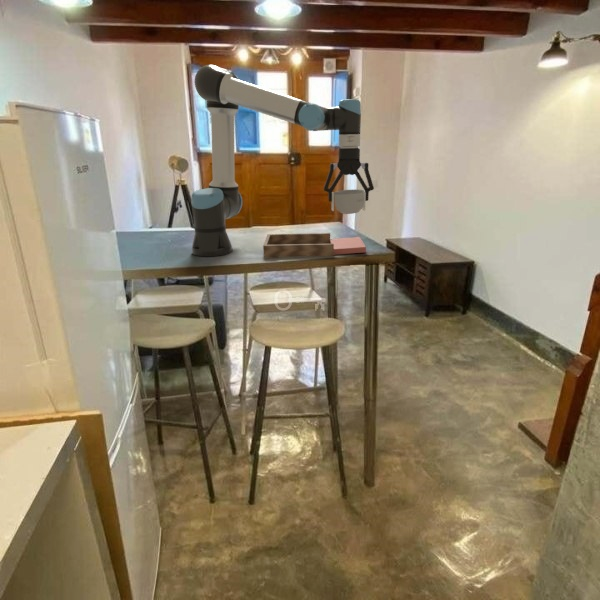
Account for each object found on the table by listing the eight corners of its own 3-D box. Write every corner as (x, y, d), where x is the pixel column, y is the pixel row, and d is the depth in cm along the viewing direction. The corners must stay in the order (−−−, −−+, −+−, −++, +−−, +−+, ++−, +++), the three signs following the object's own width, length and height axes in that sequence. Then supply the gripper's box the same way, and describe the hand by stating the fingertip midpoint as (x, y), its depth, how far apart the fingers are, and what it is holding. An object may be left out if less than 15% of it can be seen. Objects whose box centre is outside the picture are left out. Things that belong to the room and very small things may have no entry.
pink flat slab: (333, 249, 153) (365, 246, 153) (329, 239, 169) (359, 236, 169) (333, 254, 154) (366, 252, 153) (330, 244, 170) (359, 241, 170)
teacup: (362, 215, 149) (363, 192, 147) (332, 215, 151) (332, 192, 149) (364, 209, 162) (365, 188, 159) (336, 209, 164) (336, 188, 161)
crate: (263, 257, 153) (263, 245, 151) (268, 245, 172) (267, 234, 170) (333, 256, 152) (333, 244, 151) (329, 243, 171) (330, 233, 170)
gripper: (316, 148, 145) (317, 212, 153) (384, 146, 145) (381, 210, 153) (316, 148, 152) (316, 209, 160) (380, 146, 152) (377, 208, 160)
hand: (348, 210), depth 157 cm, fingers closed on teacup, 11 cm apart
